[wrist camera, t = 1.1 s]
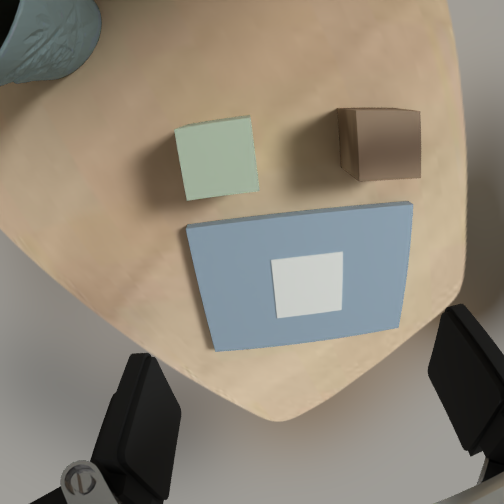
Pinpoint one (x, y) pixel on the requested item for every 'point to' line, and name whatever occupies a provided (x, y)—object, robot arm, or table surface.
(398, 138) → the walnut block
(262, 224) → the board
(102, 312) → the table surface
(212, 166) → the sage block
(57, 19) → the teal plant pot
